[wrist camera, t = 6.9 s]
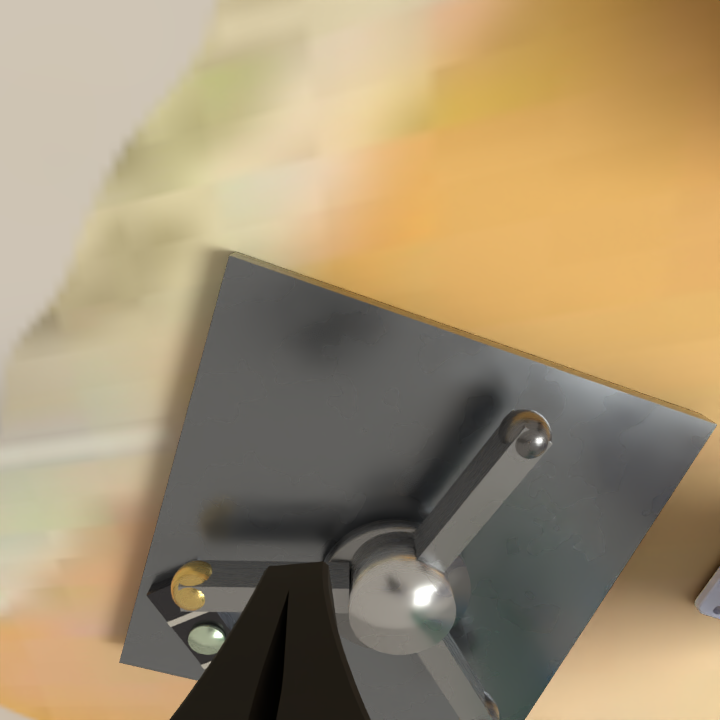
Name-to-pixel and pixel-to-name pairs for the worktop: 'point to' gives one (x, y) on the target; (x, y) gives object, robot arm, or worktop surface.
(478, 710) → the capstan
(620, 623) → the worktop surface
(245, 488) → the plate
